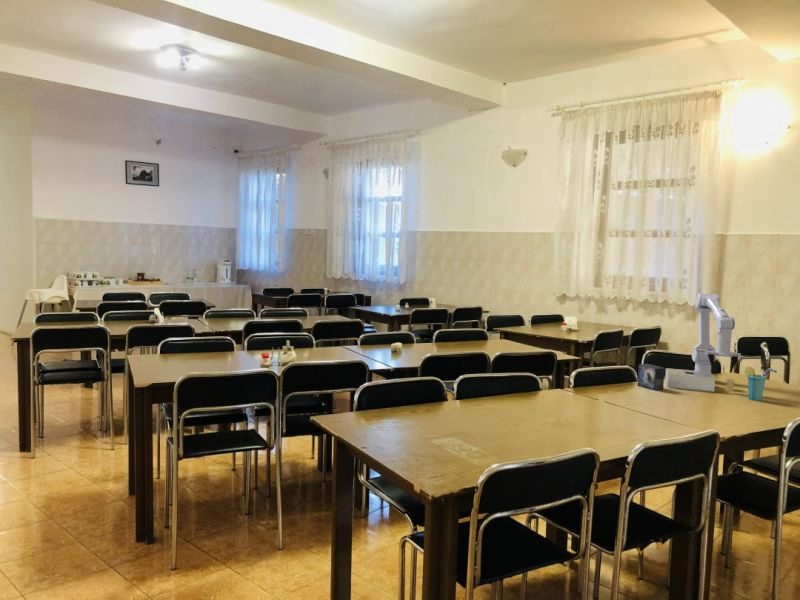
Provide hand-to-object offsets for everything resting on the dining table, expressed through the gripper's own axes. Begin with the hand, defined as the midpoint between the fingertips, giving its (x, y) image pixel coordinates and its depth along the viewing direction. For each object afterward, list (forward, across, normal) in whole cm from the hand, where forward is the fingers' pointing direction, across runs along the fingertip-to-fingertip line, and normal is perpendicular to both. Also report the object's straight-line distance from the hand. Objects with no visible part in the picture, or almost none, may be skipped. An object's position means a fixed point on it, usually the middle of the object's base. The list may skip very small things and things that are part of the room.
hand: (721, 371), depth 290 cm
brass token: (+9, +5, +5) cm, 12 cm away
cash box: (+9, -13, +3) cm, 16 cm away
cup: (+9, +13, -14) cm, 21 cm away
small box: (+9, -31, -10) cm, 34 cm away
